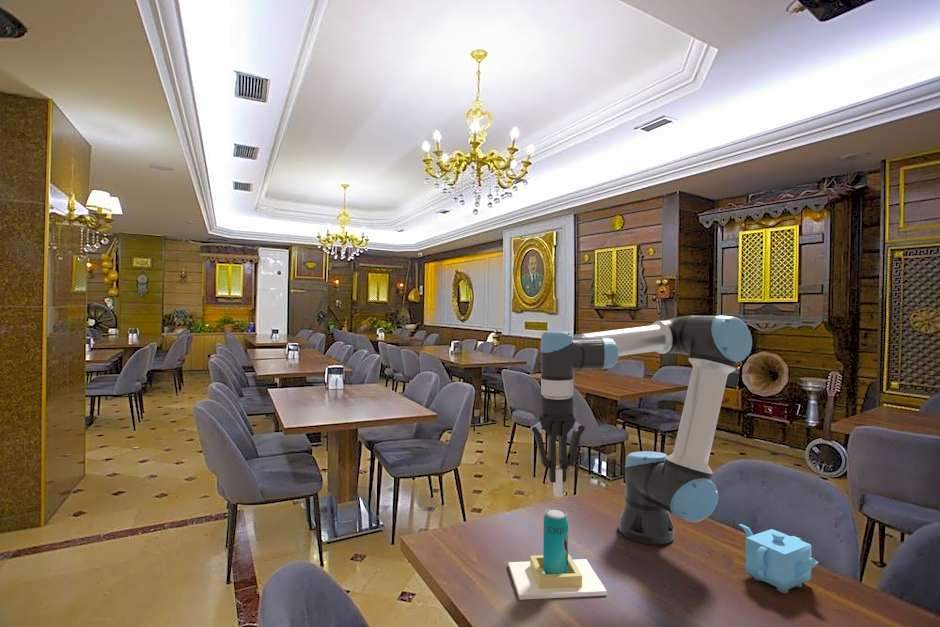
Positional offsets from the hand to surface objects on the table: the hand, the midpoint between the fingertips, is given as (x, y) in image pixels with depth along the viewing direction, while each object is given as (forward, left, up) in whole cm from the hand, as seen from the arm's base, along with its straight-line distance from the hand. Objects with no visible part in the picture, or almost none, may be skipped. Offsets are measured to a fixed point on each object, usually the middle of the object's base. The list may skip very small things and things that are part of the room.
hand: (557, 495), depth 115 cm
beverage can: (0, 0, -19) cm, 19 cm away
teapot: (-52, +4, -20) cm, 56 cm away
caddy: (+1, 0, -20) cm, 20 cm away
